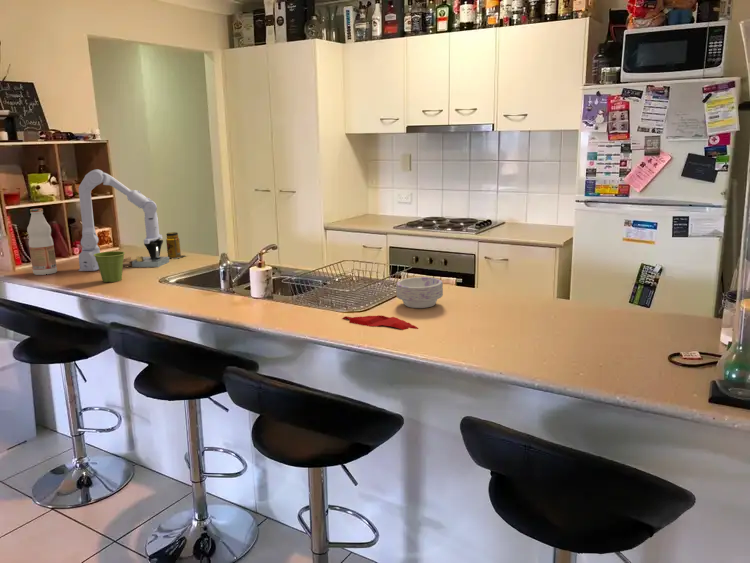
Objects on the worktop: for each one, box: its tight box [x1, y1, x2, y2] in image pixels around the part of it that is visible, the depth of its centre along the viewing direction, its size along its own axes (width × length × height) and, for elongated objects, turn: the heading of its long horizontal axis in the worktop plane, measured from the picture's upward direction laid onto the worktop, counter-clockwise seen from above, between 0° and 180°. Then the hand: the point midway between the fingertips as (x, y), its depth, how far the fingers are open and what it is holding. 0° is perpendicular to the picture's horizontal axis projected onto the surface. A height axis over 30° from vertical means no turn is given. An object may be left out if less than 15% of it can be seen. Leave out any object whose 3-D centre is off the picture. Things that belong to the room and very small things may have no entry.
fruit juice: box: [26, 208, 58, 276], centre depth 271 cm, size 9×9×28 cm
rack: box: [122, 256, 137, 268], centre depth 289 cm, size 12×7×2 cm, turn 174°
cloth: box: [341, 315, 419, 331], centre depth 189 cm, size 26×14×2 cm, turn 50°
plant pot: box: [93, 250, 126, 283], centre depth 255 cm, size 12×12×11 cm
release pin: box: [135, 255, 144, 261], centre depth 284 cm, size 3×3×4 cm
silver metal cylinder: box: [151, 246, 160, 260], centre depth 288 cm, size 4×4×8 cm
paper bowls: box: [395, 276, 444, 309], centre depth 207 cm, size 15×15×8 cm
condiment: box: [165, 231, 187, 260], centre depth 303 cm, size 7×8×12 cm
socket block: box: [132, 256, 170, 268], centre depth 287 cm, size 12×12×2 cm
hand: (155, 256), depth 288 cm, fingers closed on silver metal cylinder, 4 cm apart
